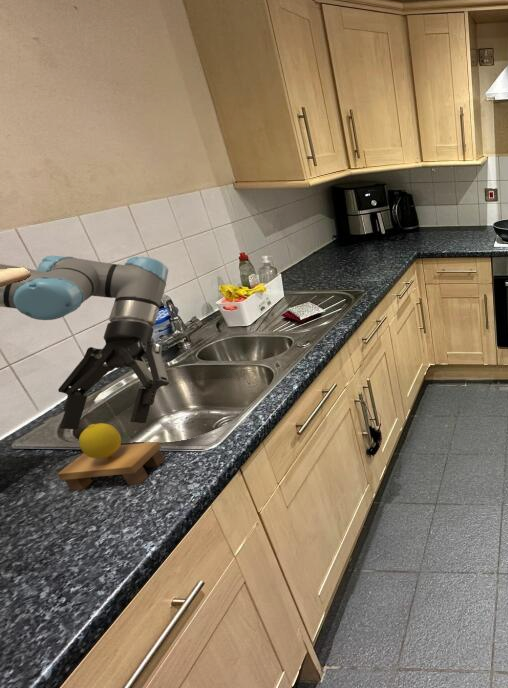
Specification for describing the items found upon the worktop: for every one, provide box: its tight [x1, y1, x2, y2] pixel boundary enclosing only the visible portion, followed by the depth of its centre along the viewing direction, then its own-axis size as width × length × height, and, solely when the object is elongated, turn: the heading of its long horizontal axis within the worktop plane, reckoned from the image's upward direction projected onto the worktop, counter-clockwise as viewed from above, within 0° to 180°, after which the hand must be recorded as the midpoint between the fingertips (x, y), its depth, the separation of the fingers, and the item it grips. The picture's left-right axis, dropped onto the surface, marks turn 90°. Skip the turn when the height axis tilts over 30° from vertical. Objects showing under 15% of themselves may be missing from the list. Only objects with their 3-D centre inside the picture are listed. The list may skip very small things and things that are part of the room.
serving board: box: [56, 441, 166, 491], centre depth 82 cm, size 14×7×5 cm, turn 93°
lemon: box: [78, 422, 122, 459], centre depth 80 cm, size 6×6×8 cm
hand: (103, 425), depth 80 cm, fingers open, 13 cm apart
